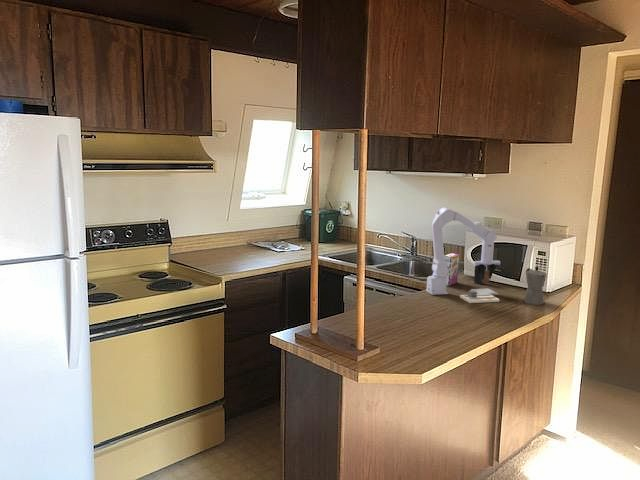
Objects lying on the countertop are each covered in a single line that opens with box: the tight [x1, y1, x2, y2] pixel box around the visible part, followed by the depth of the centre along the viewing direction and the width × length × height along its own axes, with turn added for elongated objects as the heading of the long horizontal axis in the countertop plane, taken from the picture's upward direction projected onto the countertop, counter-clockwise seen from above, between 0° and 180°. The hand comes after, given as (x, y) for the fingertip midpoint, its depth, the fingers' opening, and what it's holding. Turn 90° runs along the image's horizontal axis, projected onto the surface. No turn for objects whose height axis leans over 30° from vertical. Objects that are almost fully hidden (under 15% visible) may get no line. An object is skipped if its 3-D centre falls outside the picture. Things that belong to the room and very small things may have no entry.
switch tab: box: [467, 289, 477, 298], centre depth 259 cm, size 3×3×3 cm
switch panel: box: [459, 294, 500, 304], centre depth 260 cm, size 16×10×2 cm, turn 102°
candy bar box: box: [444, 253, 460, 287], centre depth 288 cm, size 11×5×16 cm, turn 141°
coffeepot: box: [523, 266, 547, 306], centre depth 257 cm, size 15×9×18 cm, turn 8°
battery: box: [473, 265, 488, 285], centre depth 291 cm, size 7×4×11 cm, turn 45°
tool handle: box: [482, 270, 490, 284], centre depth 271 cm, size 4×4×6 cm
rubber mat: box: [470, 288, 499, 296], centre depth 273 cm, size 10×10×1 cm
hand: (485, 278), depth 271 cm, fingers closed on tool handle, 4 cm apart
